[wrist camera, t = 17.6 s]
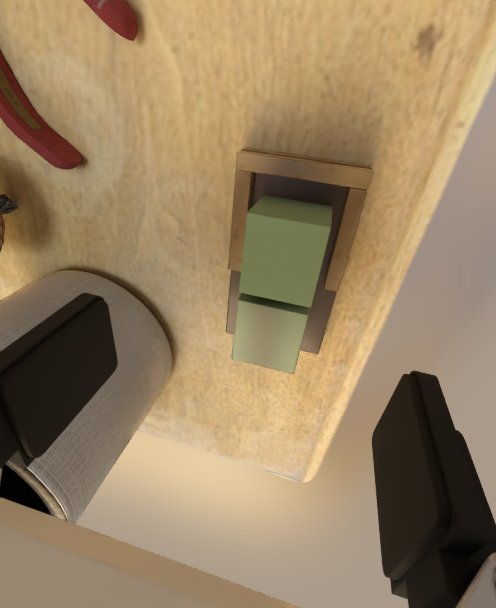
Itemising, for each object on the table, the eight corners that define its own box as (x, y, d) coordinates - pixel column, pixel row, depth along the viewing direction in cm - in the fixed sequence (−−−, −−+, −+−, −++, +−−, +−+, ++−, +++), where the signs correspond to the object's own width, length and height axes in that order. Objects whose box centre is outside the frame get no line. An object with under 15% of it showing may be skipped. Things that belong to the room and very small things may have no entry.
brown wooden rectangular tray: (371, 165, 20) (381, 182, 15) (319, 345, 27) (314, 395, 22) (245, 147, 21) (217, 157, 16) (229, 325, 28) (207, 367, 24)
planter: (78, 390, 39) (-52, 527, 26) (8, 271, 32) (-222, 380, 19) (195, 395, 34) (108, 567, 21) (146, 257, 27) (-35, 391, 14)
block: (254, 263, 23) (238, 292, 20) (263, 194, 21) (246, 212, 17) (315, 276, 23) (311, 308, 19) (332, 206, 20) (331, 227, 16)
